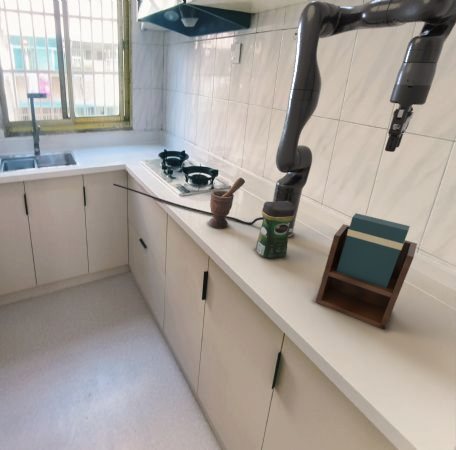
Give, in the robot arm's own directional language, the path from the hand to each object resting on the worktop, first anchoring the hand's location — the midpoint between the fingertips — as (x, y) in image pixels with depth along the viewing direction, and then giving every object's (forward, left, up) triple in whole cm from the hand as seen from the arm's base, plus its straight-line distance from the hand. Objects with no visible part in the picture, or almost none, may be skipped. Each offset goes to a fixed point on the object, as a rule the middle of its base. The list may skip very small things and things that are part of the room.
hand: (391, 149), depth 90 cm
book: (+4, -22, -28) cm, 36 cm away
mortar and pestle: (-48, +3, -38) cm, 61 cm away
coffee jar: (-24, -7, -38) cm, 46 cm away
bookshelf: (+4, -20, -38) cm, 43 cm away
